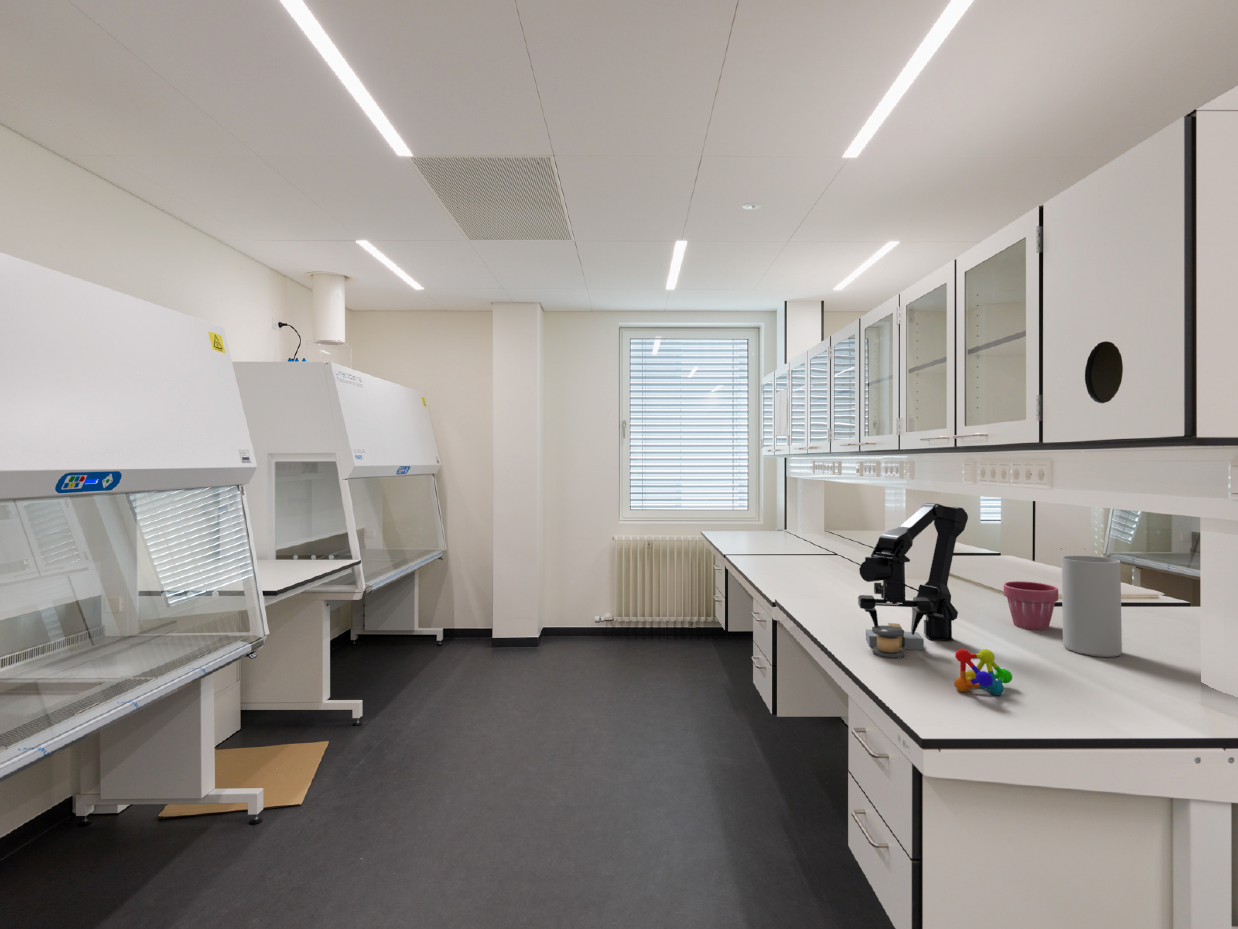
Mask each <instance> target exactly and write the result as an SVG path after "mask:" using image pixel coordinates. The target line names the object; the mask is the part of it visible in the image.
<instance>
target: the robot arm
mask: <svg viewBox="0 0 1238 929" xmlns="http://www.w3.org/2000/svg"><path fill="white" fill-rule="evenodd" d="M968 518H969V515H968V513H967V512H966V510H965V509H964V508H963V507H956V506H947V505H946V506H945V505H942V504H940V503H933V502H932V503H931V502H925V503H923V504H922V505H921V506H920V508H919V509H918V510H917V511H916V512H915V513H914V514H912V515H911V516H910V517H909V518H907V520H905V521H904V522H903V523H902V524H901V525H900V526H898V527H896V528H893V529H889V530H887V531H885V532H884V533H882V534H880V536H879V537H878V541H877V542H876V544H875V547H874V549H873V551H872V552H871V555H870V556H865V557H864V561H863V562H861V564H860V566H859V570H858V571H859V574H860V577H861V578H862V580H863V581H865V582H867V583H871V582H874V583H873V594H874V595H880V597H881V598H875V597H874V595H870V594H869V595H867V594H860V595H859V596H858V597H857V605H858V606H859V608H860V609H862V610H863V609H864V611H865V612H866V613H869V615H870V618H871V621H872V623H873V627H874V626H879V621H878V613H877V612H878V611H877V609H876V606H877V607H879V606H880V607H881V606H882V607H900V608H901V607H902V608H903V607H905V608H911V613H912V614H911V624H910V625H911V626H910V627H911V628H910V629H911V630H910V632H911V634H912V635H914V633H915V632H917V628H918V626H919V624H920V622H921V620H922V619H923V617H924V616H925V619H924V620H923V634H924V635H925V636H926V637H927V639H928V640H933V641H937V640H938V641H949V642H950V641H951V642H952V641H953V642H954V638H953V632H952V631H953V627H952V626H953V625H952V624H953V622H954V621H955V620H957V619H958V615H959V611H958V610H957V609H956V608H955V606H954V605H953V603H951V602H952V594H951V591H950V589H949V587H948V583H949V582H948V581H949V576H950V572H951V566H952V561H953V557H954V552H955V547H956V542H957V538H958V537H959V536H960V535H961V534H962V533H963V532H964V531H965V528H966V525H967V523H968ZM932 523H933V525H934V528H935V530H936V532H937V536H936V541H935V547H934V550H933V556H932V560H931V566H930V572H929V576H928V580H927V581H926V582H925V583H924V584H919V586H918V592H917V595H916V596H914V597H913V598H912V600H911V599H910V600H909V599H908V600H907V599H906V568H905V567H906V563H910V562H911V559H910V558H909V557H908V556H907V553H908V552H909V551H910V549H911V548H912V547H913V544H914V540H915V538H917V537H918V536H919V535H920V534H921V533H922V532H923V531H924V530H925V529H926V528H927V527H928V526H929V525H930V524H932ZM878 581H882V582H878ZM952 621H953V622H952Z"/></svg>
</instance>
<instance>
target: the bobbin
mask: <svg viewBox="0 0 1238 929" xmlns="http://www.w3.org/2000/svg"><path fill="white" fill-rule="evenodd" d="M871 630H872V632H873V633H875V634H877V647H872V650H871V651H872V654H873V655H875V656H877V657H879V658H880V657H881V658H885V659H896V660H897V659H902V658H904V657H905V654H906V653H905V650H903V649H900V644H899V636H903V635H904V631H905V630H904V629H903V628H902V629H901V628H898V627H893V626H888V625H878V626H874V625H873V626H871Z"/></svg>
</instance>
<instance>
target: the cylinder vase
mask: <svg viewBox="0 0 1238 929" xmlns="http://www.w3.org/2000/svg"><path fill="white" fill-rule="evenodd" d="M1121 572H1122V571H1121V560H1119V559H1117V558H1111V557H1103V556H1093V555H1092V556H1091V555H1064V556H1061V593H1062V594H1061V595H1062V596H1061V597H1062V598H1061V599H1062V601H1061V602H1062V604H1061V605H1062V608H1061V609H1062V645H1063V647H1064V648H1066V649H1067V650H1069V651H1070V650H1071V652H1074V653H1077V654H1079V655H1080V654H1081V655H1084V654H1085V655H1084V656H1089V655H1090V656H1091V657H1097V658H1116V657H1119V656H1120V655H1122V653H1123V640H1122V639H1123V636H1122V635H1123V634H1122V633H1123V631H1122V583H1121V582H1122V580H1121V579H1122V577H1121V574H1122V573H1121Z"/></svg>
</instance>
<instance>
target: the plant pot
mask: <svg viewBox="0 0 1238 929" xmlns="http://www.w3.org/2000/svg"><path fill="white" fill-rule="evenodd" d="M1003 596H1004V597H1006V598H1007V604H1008V607H1009V611H1010V615H1011V619H1012V622H1013V625H1014V626H1015V627H1018V626H1019V627H1018V628H1021V629H1025V628H1026V629H1027V630H1031V631H1032V630H1034V631H1044V630H1045V631H1046V630H1049V627H1050V624H1051V620H1052V618H1053V617H1052V616H1053V612H1054V608H1055V603H1056V602H1058V601H1059V588H1058V587H1057V586H1055V585H1051V584H1048V583H1047V584H1046V583H1042V582H1035V581H1034V582H1033V581H1024V580H1023V581H1018V580H1017V581H1016V580H1015V581H1014V580H1013V581H1007V582H1004V583H1003Z"/></svg>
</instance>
